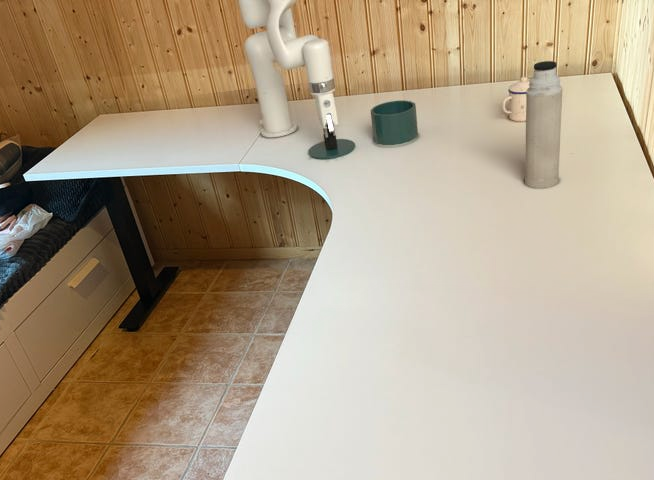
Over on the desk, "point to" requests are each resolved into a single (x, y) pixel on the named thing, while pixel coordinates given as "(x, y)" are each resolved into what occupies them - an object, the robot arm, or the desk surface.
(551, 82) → the thermos bottle
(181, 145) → the desk surface
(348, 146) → the lid
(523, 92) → the teacup with lid
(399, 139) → the tin
